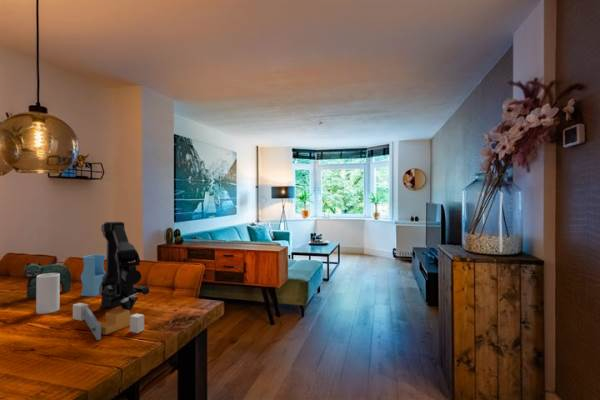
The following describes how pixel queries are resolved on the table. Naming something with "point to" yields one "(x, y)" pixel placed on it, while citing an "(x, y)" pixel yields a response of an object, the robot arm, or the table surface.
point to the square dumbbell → (135, 319)
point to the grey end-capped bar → (93, 323)
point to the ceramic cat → (36, 270)
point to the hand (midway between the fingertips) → (127, 316)
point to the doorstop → (115, 320)
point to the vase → (92, 274)
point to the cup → (47, 293)
